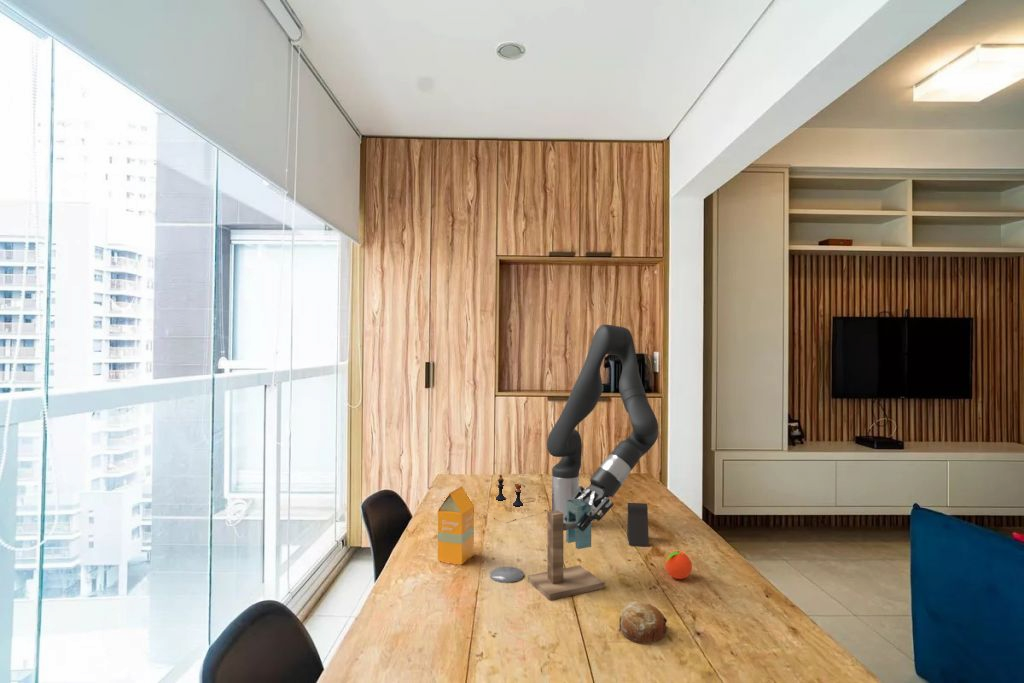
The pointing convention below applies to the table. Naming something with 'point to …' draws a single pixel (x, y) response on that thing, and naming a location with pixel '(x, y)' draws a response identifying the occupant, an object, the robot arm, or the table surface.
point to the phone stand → (637, 524)
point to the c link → (575, 513)
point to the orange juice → (456, 528)
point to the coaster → (506, 574)
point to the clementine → (678, 565)
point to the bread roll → (642, 623)
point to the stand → (557, 578)
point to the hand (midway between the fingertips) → (573, 525)
